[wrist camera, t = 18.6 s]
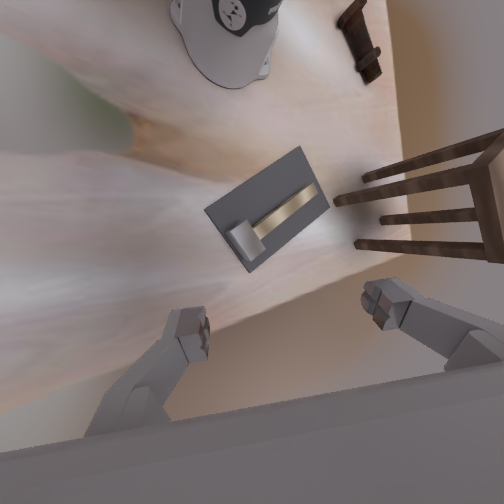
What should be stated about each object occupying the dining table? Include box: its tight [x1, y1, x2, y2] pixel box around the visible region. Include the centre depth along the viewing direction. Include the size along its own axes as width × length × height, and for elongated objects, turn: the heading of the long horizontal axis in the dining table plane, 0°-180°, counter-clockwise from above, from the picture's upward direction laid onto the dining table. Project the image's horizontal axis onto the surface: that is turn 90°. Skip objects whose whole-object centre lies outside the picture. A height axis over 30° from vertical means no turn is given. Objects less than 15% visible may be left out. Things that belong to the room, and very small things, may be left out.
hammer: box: [225, 183, 318, 261], centre depth 41 cm, size 22×7×4 cm, turn 125°
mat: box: [205, 146, 330, 273], centre depth 42 cm, size 26×16×1 cm, turn 125°
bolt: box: [338, 0, 382, 83], centre depth 45 cm, size 6×5×15 cm
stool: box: [333, 128, 504, 264], centre depth 40 cm, size 14×16×26 cm
